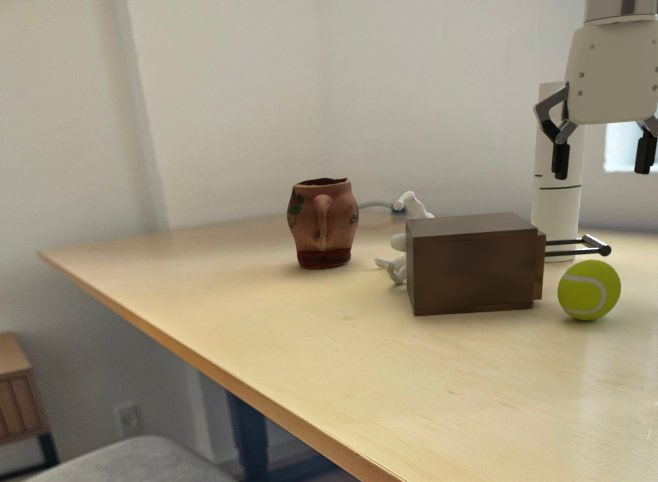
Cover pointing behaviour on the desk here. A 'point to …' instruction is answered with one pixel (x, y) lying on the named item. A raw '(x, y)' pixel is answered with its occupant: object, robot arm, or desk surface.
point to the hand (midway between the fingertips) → (600, 176)
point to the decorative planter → (323, 221)
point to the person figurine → (402, 238)
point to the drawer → (586, 240)
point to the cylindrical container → (557, 183)
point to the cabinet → (470, 263)
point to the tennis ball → (589, 290)
